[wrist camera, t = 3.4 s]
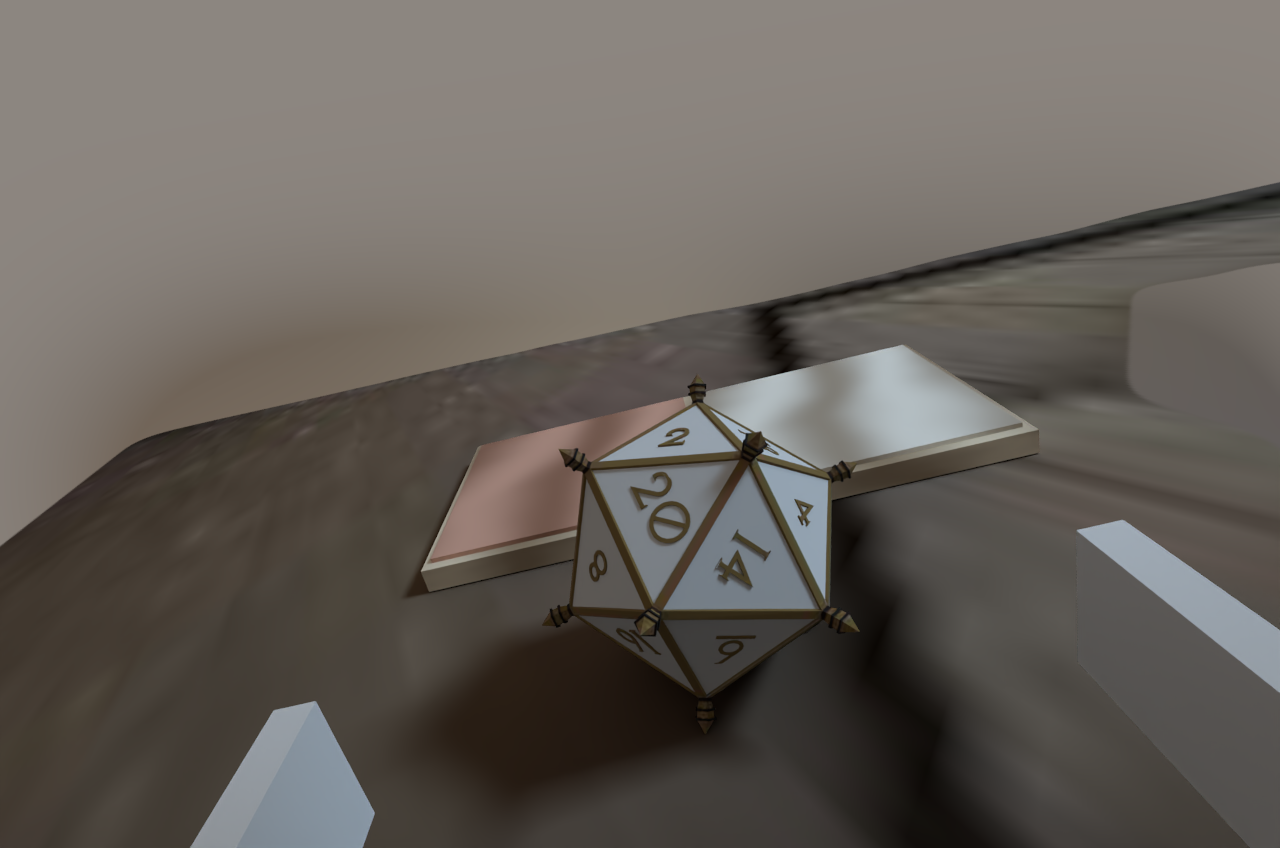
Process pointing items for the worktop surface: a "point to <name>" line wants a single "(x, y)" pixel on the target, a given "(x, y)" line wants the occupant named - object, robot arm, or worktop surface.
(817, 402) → the game board
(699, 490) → the game die
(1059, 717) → the worktop surface
